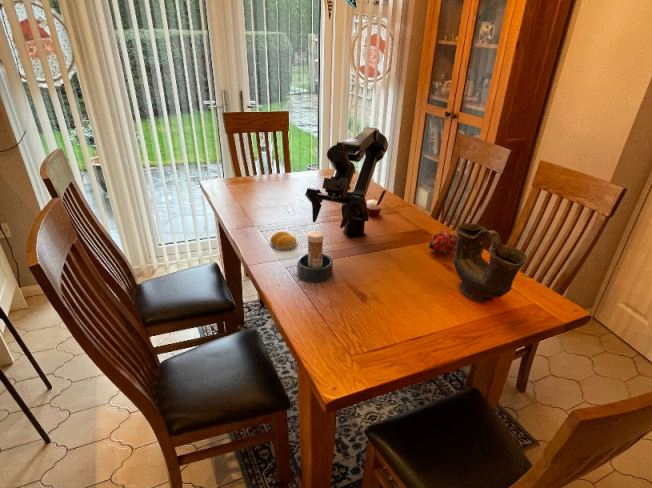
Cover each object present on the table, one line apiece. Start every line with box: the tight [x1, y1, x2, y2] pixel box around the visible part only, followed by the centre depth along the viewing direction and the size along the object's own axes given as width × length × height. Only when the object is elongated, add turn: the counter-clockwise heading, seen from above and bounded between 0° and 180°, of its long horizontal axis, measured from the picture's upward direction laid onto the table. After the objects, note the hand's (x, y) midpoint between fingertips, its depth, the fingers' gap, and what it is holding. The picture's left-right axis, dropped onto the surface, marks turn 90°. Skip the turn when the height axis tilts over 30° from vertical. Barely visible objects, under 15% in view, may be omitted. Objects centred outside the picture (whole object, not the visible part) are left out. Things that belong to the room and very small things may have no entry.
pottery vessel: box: [452, 222, 528, 304], centre depth 120 cm, size 25×11×20 cm, turn 23°
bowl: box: [296, 253, 334, 284], centre depth 129 cm, size 10×10×4 cm
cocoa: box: [366, 189, 387, 218], centre depth 170 cm, size 10×6×12 cm, turn 19°
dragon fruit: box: [428, 230, 457, 256], centre depth 145 cm, size 8×8×12 cm
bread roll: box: [270, 230, 298, 250], centre depth 145 cm, size 8×9×4 cm
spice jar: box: [307, 230, 324, 269], centre depth 126 cm, size 5×5×13 cm
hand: (327, 224), depth 129 cm, fingers open, 9 cm apart
